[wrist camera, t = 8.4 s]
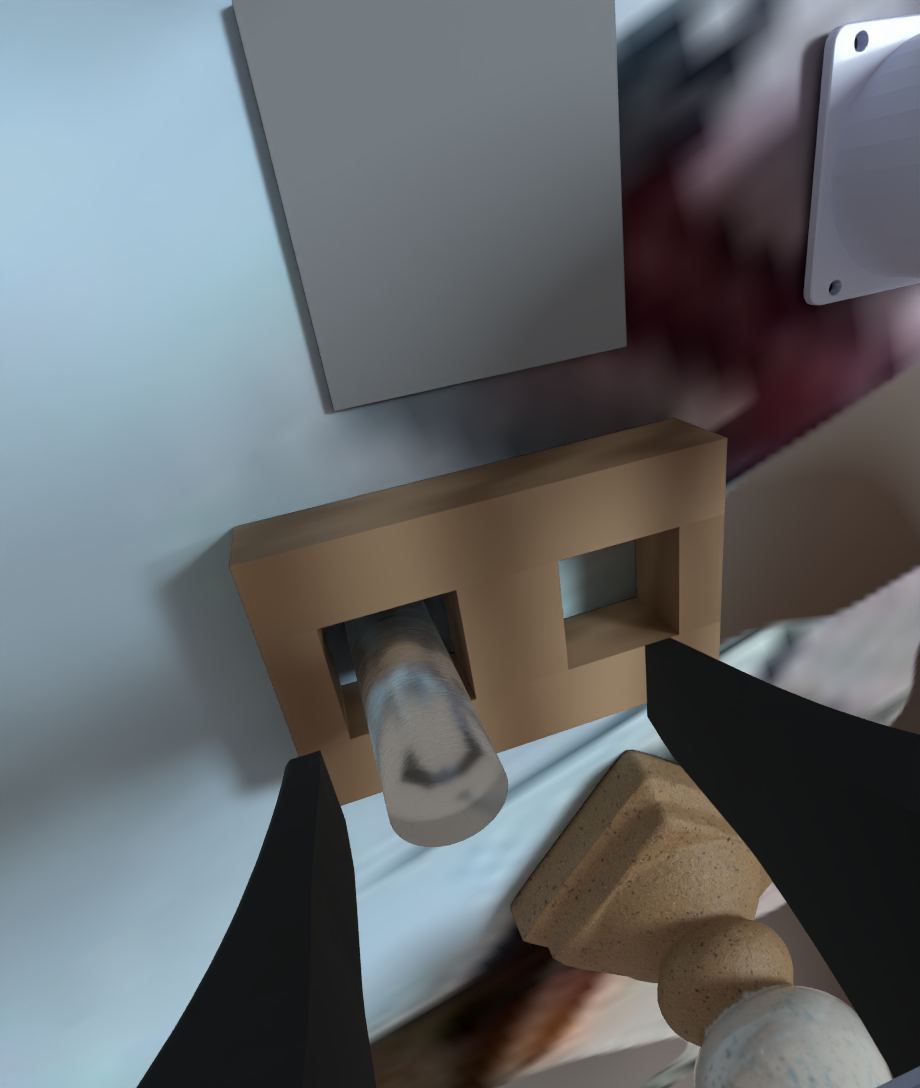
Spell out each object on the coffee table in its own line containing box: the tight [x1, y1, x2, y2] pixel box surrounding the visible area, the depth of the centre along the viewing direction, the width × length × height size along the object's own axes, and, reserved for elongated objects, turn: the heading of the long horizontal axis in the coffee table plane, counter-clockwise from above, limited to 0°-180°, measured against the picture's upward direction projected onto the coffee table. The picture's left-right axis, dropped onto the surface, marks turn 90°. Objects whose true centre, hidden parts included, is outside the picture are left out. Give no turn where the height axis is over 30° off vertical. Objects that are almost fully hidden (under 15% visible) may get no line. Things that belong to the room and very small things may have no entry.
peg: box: [344, 600, 508, 847], centre depth 19 cm, size 3×3×9 cm
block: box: [229, 418, 727, 806], centre depth 22 cm, size 16×10×3 cm, turn 99°
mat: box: [232, 0, 627, 411], centre depth 18 cm, size 10×10×1 cm
